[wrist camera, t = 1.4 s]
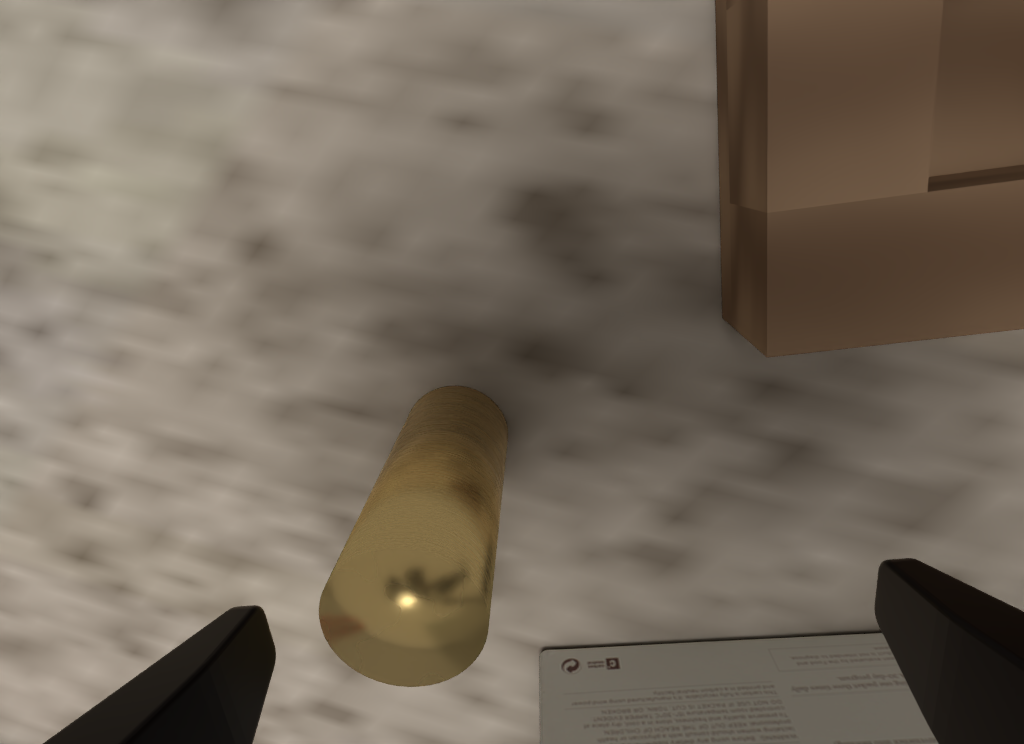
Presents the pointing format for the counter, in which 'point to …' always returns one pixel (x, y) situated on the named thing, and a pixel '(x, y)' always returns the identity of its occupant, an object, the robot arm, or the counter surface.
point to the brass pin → (423, 547)
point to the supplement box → (730, 693)
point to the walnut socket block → (870, 170)
